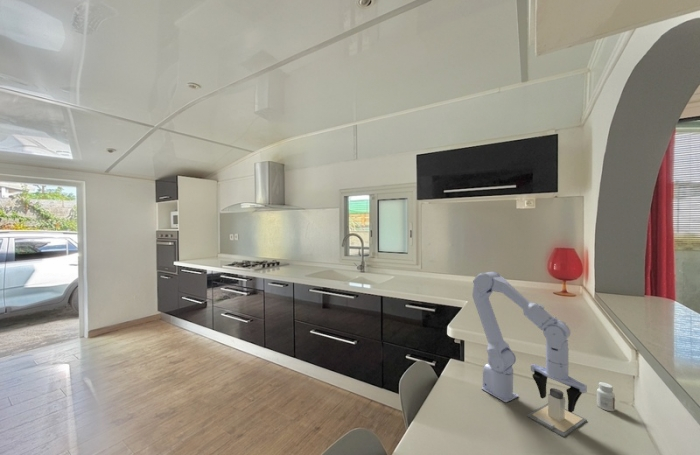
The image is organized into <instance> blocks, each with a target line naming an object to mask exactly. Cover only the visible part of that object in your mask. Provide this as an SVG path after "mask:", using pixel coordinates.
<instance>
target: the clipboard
mask: <svg viewBox="0 0 700 455" xmlns="http://www.w3.org/2000/svg"><path fill="white" fill-rule="evenodd" d="M526 417H528V418H529V419H531V420H532V421H535V422H536V423H538V424H539V425H541V426H543V427H544V428H546V429H548V430H550V431H552V432H554V433H555V434H557V435H559V436H561V437H563V438H565V437H567V435H569V434H570V433H572V432H574V431H575V430H576V429H578V428H579V427H580V426H582V425H583V424H585V423H586V422H587V421H588V419H587V418H584V417H582V416H580V415H578V414H576V413H574V412H569V411H568V409H566V408H565V419H563V420H562V421H558V420H556V419H554V418H552V417H550V416H548V403H546V404H543V405H542V406H540V407H539V408H537V409H535V410H534V411H531V412H530V413H527V414H526Z"/></svg>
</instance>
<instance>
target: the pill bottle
mask: <svg viewBox="0 0 700 455" xmlns="http://www.w3.org/2000/svg"><path fill="white" fill-rule="evenodd" d="M613 391H614V388H613V385H611V384H610V383H607V382H603V381H600V382H598V388H597V389H596V406H598V408H600V409H602V410H604V411H608V412H614V411H615V409H616V408H615V406H616V404H615V402H616V399H615V397H616V396H615V393H614V392H613Z"/></svg>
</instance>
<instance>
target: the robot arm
mask: <svg viewBox="0 0 700 455" xmlns="http://www.w3.org/2000/svg"><path fill="white" fill-rule="evenodd" d="M472 284H473V287H472V288H473V289H472V299H473V302H474V305H475V307H476V311H477V314H478V316H479V321H480V322H481V325H482V327H483V331H484V334H485V336H486V340H487V347H486V349H487V350H486V353H487V355H488V356H487V362H488V363H486V364H485V365H484V366H483V369H482V387H481V390H483V391H485V392H487V393H488V394H490V395H491V396H493V397H495V398H496V399H499V400H501V401H502V402H504V403H508V402H511V401H513V400H514V399H516V398H518V397H519V394H517V393H516V392H514V368H513V365H515V363H516V361H517V357H516V355H515V353H514V352H513V350H511V348H510V345H509V343H508V342H506V341H505V340H504V336H503V334H502V332H501V329H500V326H499V324H498V320H497V318H496V315H495V312H494V309H493V307H492V304H491V301H490V296H491V294H492V293H493V292H494V293H502V294H503V295H504V296H506V297H507V298H508V299H510V300H511V301H512V302H513V303H515V304H516V305H517V306H518V307H520V309H522V311H523V312H522V313H523V315H524V316H525V317H526V318H527V319H528V320H529V321H530V322H532V324H534V325H535V326H536V327H537V328H538V329H539V330H541V331H542V332H543V336H544V337H545V339H546V341H545V342H546V344H545V366H544V367H543V366H540V365H538V364H534V363H533V364H530V372H532V378H533V380H534V382H535V384H536V386H537V389H538V393H539V395H540V398H541V399H545V398H547V382H548V378H549V379H550V380H553V381H556V382H558V383H561V384H563V385H565V386H566V387H567V386H568V388H566V395H567V410H568V411H569V412H572V413H574V411H575V408H576V405H577V403H578V400H579V398H580V397H581V395H582V394H586V393H587V391H588V389H587V388H588V387H587V386H588V385H587V384H585V383H582V382H581V381H578V380H577V379H574V378H573V377H571V376H570V375H569V340H568V338H569V337H570V335H571V329H570V327H569V326H568V325H567V323H565V322H564V321H563V320H562V321H561V320H559V319H558V318H557V317H554V316H552V315H551V314H550V312H548V311H547V310H546V309H545V306H543V304H540V305H539V304H538V303H536V302H531V301H530V300H528V299H527V298H526V297H525V296H524V295H523V294H522V293H521V292H519V291H518V290H517V289H516V288H515V287H514V286H513V285H512V284H510V282H508V280H507V279H506V278H505V277H503V276H501V275H500V274H499V273H498V272H496V271H487V272H480V273H477V275H476V276H475V277H474V279H473V280H472Z"/></svg>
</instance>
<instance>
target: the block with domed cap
mask: <svg viewBox="0 0 700 455" xmlns="http://www.w3.org/2000/svg"><path fill="white" fill-rule="evenodd" d="M547 396H548V397H547V400H548V402H547V404H548V416H550V417H552V418H554V419H556V420H558V421H562V420H563V419H565V409H566V397H565V396H564V392H563V391H562V390H560V389H557V388H555V387H553V388H550V389H549V393H548V394H547Z"/></svg>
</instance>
